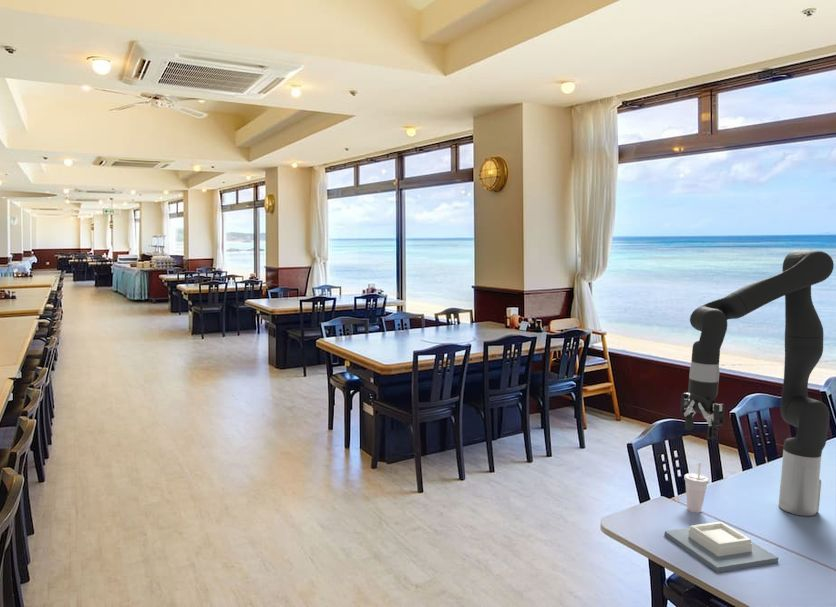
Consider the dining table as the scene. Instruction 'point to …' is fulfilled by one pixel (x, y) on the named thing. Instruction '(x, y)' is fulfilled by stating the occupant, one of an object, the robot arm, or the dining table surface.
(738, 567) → the grey base with socket
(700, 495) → the smoothie
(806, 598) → the dining table surface
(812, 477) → the robot arm
